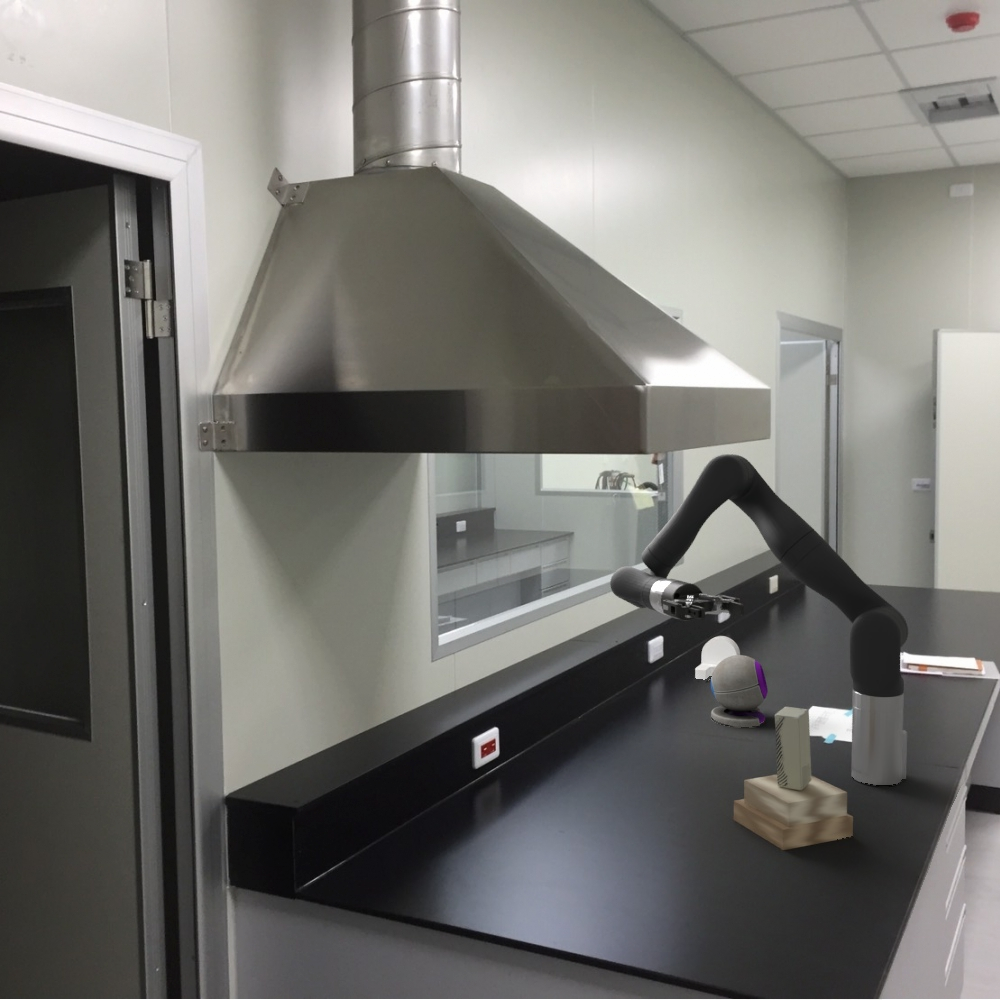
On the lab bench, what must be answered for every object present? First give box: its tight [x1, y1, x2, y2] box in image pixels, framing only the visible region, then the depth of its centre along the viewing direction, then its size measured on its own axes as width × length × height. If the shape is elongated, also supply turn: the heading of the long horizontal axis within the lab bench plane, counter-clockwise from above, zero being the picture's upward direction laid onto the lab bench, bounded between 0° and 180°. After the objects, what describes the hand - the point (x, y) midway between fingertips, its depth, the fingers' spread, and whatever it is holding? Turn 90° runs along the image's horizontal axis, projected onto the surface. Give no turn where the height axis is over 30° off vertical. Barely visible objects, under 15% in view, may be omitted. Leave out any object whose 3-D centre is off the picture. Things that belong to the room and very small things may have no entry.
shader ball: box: [710, 654, 769, 728], centre depth 244 cm, size 13×13×15 cm
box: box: [774, 706, 812, 790], centre depth 180 cm, size 5×4×13 cm
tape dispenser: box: [694, 635, 741, 680], centre depth 285 cm, size 10×18×11 cm, turn 154°
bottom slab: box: [733, 798, 854, 851], centre depth 181 cm, size 14×14×4 cm
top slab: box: [743, 773, 848, 827], centre depth 180 cm, size 12×12×4 cm
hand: (723, 612), depth 198 cm, fingers open, 8 cm apart
